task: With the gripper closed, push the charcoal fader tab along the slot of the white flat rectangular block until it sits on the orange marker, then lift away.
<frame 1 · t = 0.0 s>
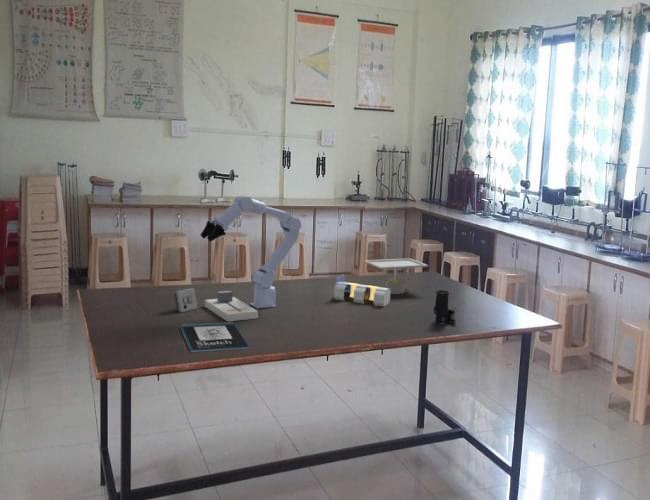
hand: (205, 238, 286), 32 cm above the table, tool tilted 50°, fingers open, 7 cm apart
white flat rectangular block: (230, 312, 294), on the table
sketchbook: (213, 339, 259), on the table
gray yellow segmented block: (361, 301, 325), on the table
solar panel model: (393, 291, 347), on the table
electrical switch: (184, 310, 294), on the table
fader tab: (224, 296, 299), point 5 cm above the table, slide at 0.0 cm
scope: (441, 322, 296), on the table
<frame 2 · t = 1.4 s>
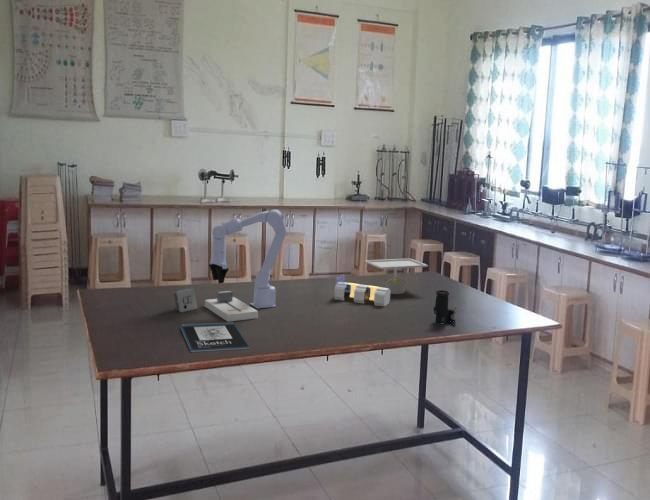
hand: (218, 281, 304), 10 cm above the table, tool pointing down, fingers open, 6 cm apart
nothing on the table moved.
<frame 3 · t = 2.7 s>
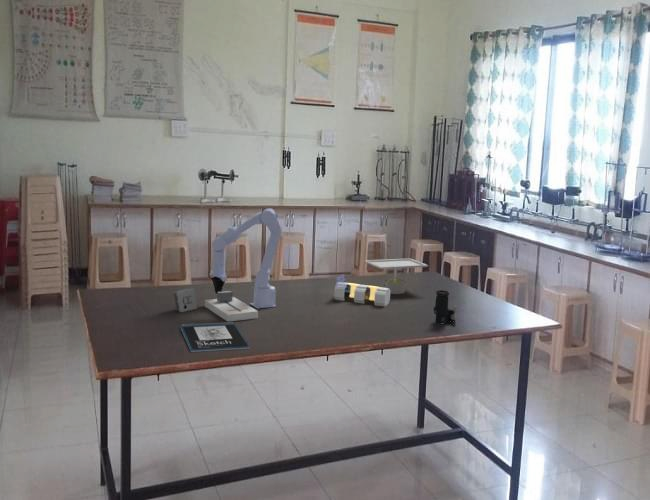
hand: (218, 293, 305), 5 cm above the table, tool pointing down, fingers closed
nothing on the table moved.
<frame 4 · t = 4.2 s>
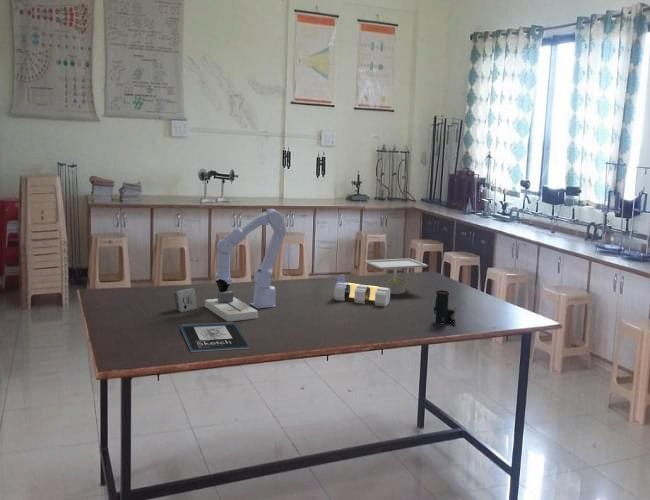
hand: (222, 296, 300), 5 cm above the table, tool pointing down, fingers closed
fader tab: (225, 296, 298), point 5 cm above the table, slide at 0.8 cm, touching gripper
everything else where it was.
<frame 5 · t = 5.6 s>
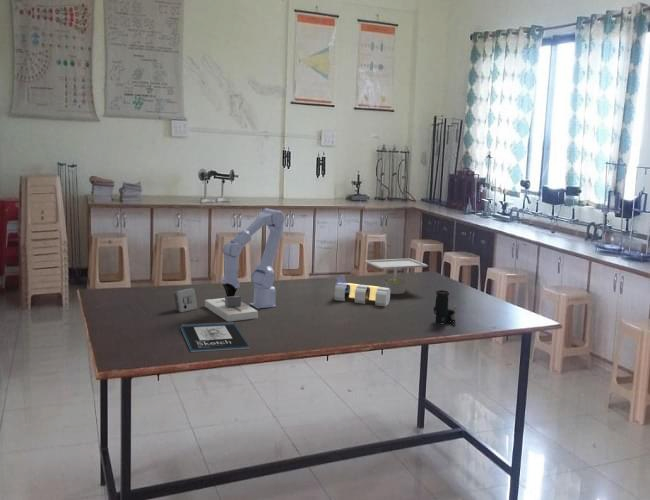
hand: (230, 300, 294), 5 cm above the table, tool pointing down, fingers closed
fader tab: (232, 301, 291), point 5 cm above the table, slide at 8.9 cm, touching gripper
everything else where it was.
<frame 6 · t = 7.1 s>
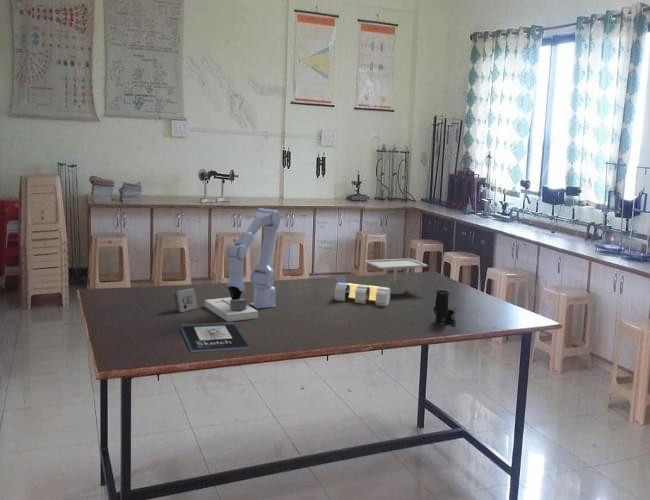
hand: (235, 303, 289), 5 cm above the table, tool pointing down, fingers closed
fader tab: (238, 304, 287), point 5 cm above the table, slide at 14.3 cm, touching gripper
everything else where it was.
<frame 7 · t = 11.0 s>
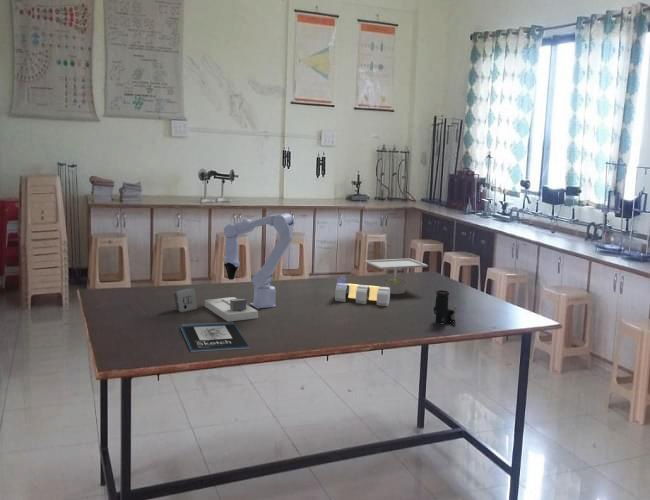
hand: (230, 279, 309), 10 cm above the table, tool pointing down, fingers closed
fader tab: (238, 304, 287), point 5 cm above the table, slide at 14.3 cm
at the end: fader tab slide at 14.3 cm; electrical switch moved 0.3 cm from its start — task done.
